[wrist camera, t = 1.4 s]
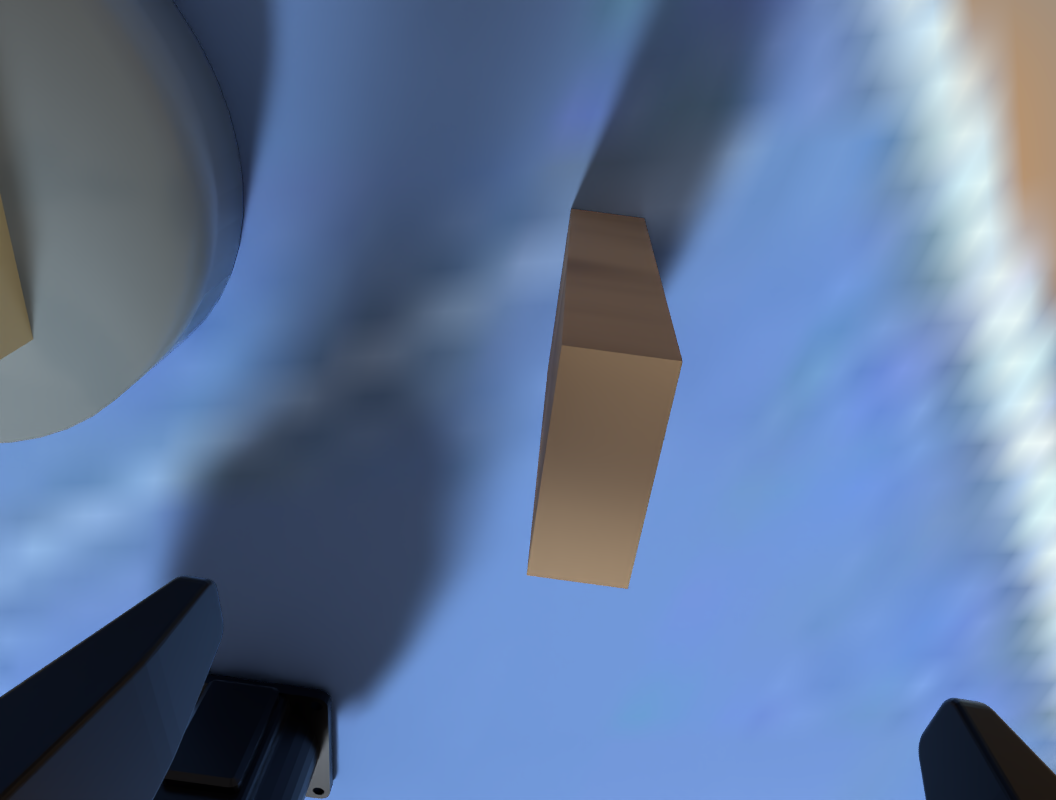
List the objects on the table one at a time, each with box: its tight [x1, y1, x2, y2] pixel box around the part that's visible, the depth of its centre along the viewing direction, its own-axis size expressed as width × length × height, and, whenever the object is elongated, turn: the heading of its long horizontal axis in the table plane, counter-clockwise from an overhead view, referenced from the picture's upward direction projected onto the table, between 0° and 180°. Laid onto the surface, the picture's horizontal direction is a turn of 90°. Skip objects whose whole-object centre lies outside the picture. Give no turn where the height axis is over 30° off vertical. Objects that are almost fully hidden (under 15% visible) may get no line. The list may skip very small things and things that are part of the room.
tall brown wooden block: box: [527, 209, 682, 589], centre depth 17 cm, size 5×2×9 cm, turn 173°
